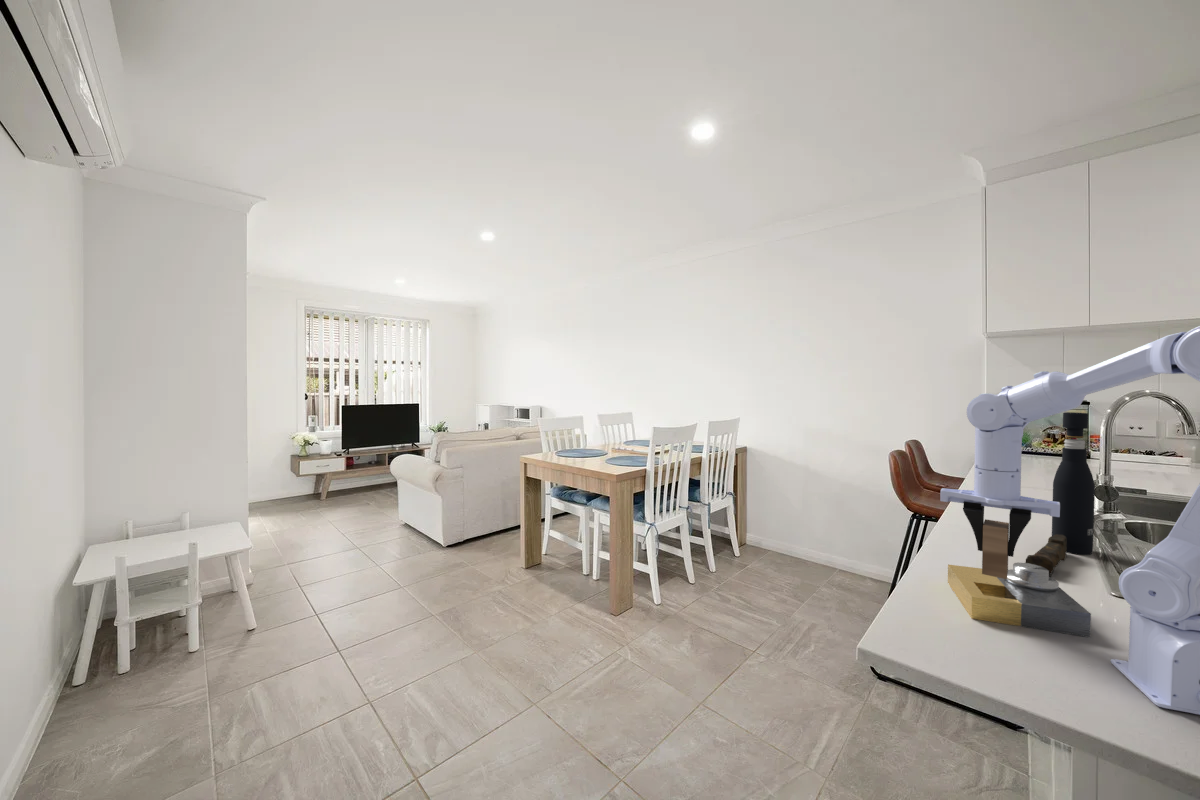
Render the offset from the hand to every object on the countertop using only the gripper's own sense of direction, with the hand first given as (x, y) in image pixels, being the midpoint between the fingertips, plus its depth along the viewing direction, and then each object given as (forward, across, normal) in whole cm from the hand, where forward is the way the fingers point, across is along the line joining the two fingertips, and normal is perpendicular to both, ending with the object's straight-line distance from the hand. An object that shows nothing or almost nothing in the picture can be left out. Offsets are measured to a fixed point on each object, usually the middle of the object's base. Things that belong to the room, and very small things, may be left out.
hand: (995, 551), depth 76 cm
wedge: (+3, 0, 0) cm, 3 cm away
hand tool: (+10, +7, +33) cm, 35 cm away
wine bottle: (+10, +11, +46) cm, 48 cm away
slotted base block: (+10, +2, +4) cm, 11 cm away
